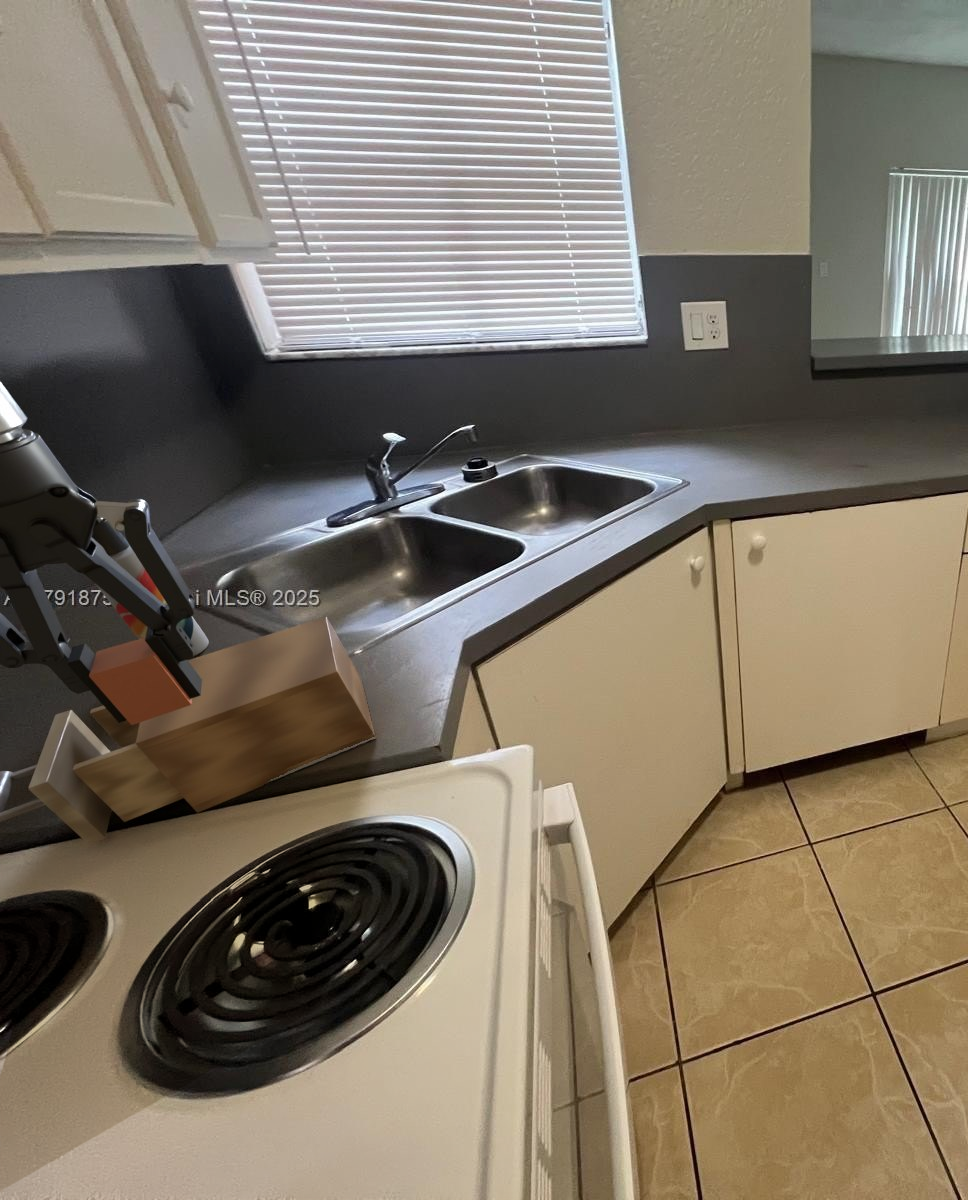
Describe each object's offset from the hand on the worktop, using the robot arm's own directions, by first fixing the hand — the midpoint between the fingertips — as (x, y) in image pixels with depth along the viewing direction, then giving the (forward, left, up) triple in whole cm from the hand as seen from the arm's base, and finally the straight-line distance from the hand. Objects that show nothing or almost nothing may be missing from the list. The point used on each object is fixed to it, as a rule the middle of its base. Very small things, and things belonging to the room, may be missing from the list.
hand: (161, 700), depth 55 cm
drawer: (-10, +3, -13) cm, 17 cm away
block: (0, 0, 0) cm, 0 cm away
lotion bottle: (-27, +27, -14) cm, 40 cm away
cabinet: (-1, +9, -14) cm, 17 cm away
